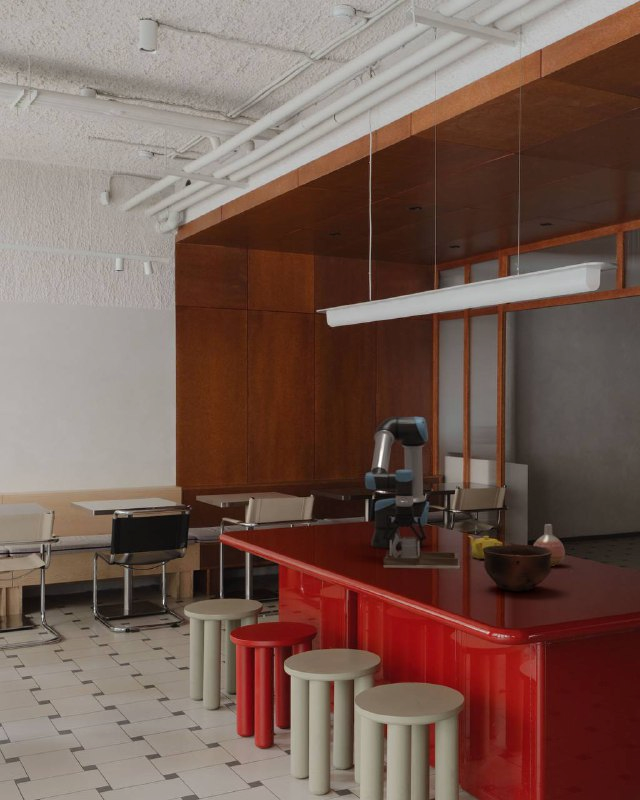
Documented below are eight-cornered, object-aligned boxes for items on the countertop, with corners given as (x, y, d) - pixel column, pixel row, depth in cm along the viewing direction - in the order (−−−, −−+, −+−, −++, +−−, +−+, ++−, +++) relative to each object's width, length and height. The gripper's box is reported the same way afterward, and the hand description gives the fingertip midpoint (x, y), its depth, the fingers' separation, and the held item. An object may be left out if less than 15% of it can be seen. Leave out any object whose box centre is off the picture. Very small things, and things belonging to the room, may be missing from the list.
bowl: (509, 598, 318) (508, 555, 318) (470, 586, 341) (470, 546, 341) (566, 593, 328) (565, 551, 328) (524, 581, 351) (524, 542, 351)
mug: (420, 561, 390) (420, 534, 390) (394, 562, 388) (394, 534, 388) (415, 558, 398) (415, 531, 398) (389, 559, 395) (389, 532, 395)
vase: (530, 567, 383) (530, 525, 383) (534, 562, 396) (533, 522, 396) (563, 569, 378) (563, 527, 378) (566, 564, 391) (566, 523, 391)
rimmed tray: (386, 559, 404) (386, 550, 404) (458, 560, 400) (458, 551, 400) (383, 567, 384) (383, 557, 384) (459, 568, 380) (459, 559, 380)
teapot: (471, 561, 399) (471, 538, 399) (467, 556, 412) (467, 534, 412) (503, 561, 399) (502, 538, 399) (497, 556, 412) (497, 534, 412)
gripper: (376, 505, 391) (376, 556, 391) (431, 506, 388) (432, 557, 387) (377, 504, 398) (378, 553, 398) (431, 504, 395) (432, 554, 395)
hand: (404, 555), depth 393 cm, fingers closed on mug, 11 cm apart
